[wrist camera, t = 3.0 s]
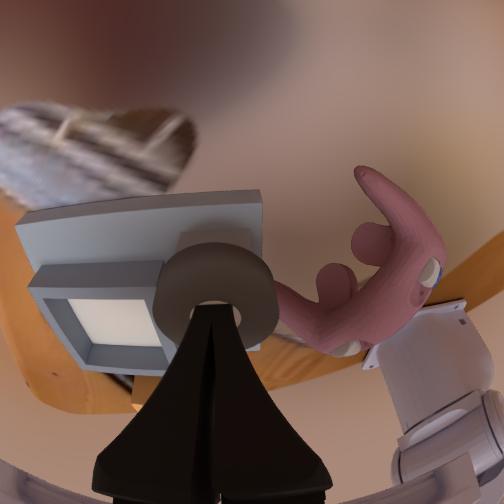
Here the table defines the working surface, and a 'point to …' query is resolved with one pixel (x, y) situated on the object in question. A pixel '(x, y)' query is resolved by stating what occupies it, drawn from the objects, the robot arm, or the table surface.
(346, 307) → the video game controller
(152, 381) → the orange cube
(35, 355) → the table surface
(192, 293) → the wheel
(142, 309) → the chassis
